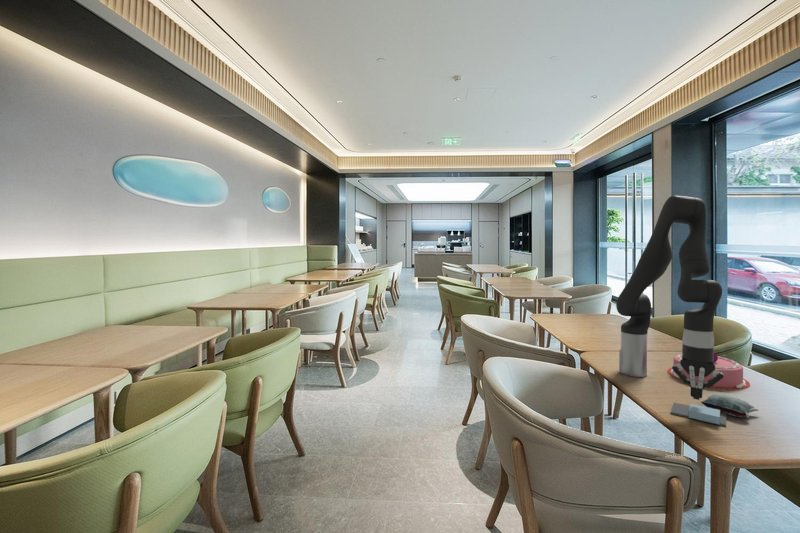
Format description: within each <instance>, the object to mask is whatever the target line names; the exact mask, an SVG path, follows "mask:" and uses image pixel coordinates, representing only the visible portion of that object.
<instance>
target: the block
mask: <svg viewBox="0 0 800 533" xmlns="http://www.w3.org/2000/svg"><path fill="white" fill-rule="evenodd" d="M689 406H690V408H689V417H690V418H689V419H691V418H694V419H693V420H695V419H698V420H697V421H700V420H702V421H701V422H704V421H707V422H706V423H708V422H711V423H710V424H712V423H715V424H714V425H717V424H719V425H718V426H721V425H720V413H721V412H720V410H717V409H713V408H708V407H706V406H704V405H699V404H694V403H690V404H689Z"/></svg>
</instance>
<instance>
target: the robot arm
mask: <svg viewBox="0 0 800 533" xmlns="http://www.w3.org/2000/svg"><path fill="white" fill-rule="evenodd" d="M706 208H707V205H706V203H705V201H704V200H703V199H702V198H699V197H692V196H686V195H671V196H669V197H668V198H667V199H666V201H665V202H664V204H663V206H662V208H661V210H660V213H659V216H658V219H657V221H656V224H655V226H654V229H653V232H652V233H651V236H650V238H649V239H648V242H647V244H646V246H645V248H644V250H643V252H642V254H641V256H640V258H639V260H638V262H637V264H636V266H635V268H634V270H633V271H632V272H633V273H632V274H631V276H630V278H629V280H628V281H627V283H626V285H625V286H624V287H623V289H622V290H621V292H620V293H619V295H618V297H617V299H616V305H615V306H616V311H617V312H618V314H620V315H621V316H624V317H629V319H628V320H627V321H625V322H623V323H622V324H621V325H620V349H619V350H618V352H619V356H618V357H619V359H618V360H619V363H618V373H620V374H623V375H626V376H629V377H635V378H641V377H642V378H643V377H646V376H648V375H647V374H648V334H649V333H648V331H649V328H650V325H651V316H652V303H651V302H652V301H651V300H650V297H649V296H648V295H647V294H645V293H643V292H644V291H645V290H647V289H648V288H649V286H651V285H652V284H653V283H655V282H656V281H657V280H658V279H660V278H661V277H662V276H663V275H664V274H665V272H666V271H667V269H668V267H669V265H670V264H671V261H672V260H673V250H672V246H671V243H670V238H669V237H670V236H669V233H670V230H671V228H672V225H673V224H674V223H676V224H683V225H688V229H689V233H688V235H687V237H686V239H684V241H683V242H682V244H681V246H680V248H679V252H678V258H679V265H680V279H679V283H678V287H677V292H676V293H677V296H678V298H679V299H680V300H681V301H682V302H684V303H685V302H686V303H696V304H697V303H698V304H699V303H700V304H701V303H703V304H702V306H701V307H700V308H694V309H688V310H685V311H684V314H683V332H682V338H681V339H682V343H681V344H682V348H681V349H682V350H681V351H682V352H681V354H682V359H681V361H680V363H679V364H677V365H673V364H672V366H671V368H672V369H673V370H674V371H675V373H676V374H677V375H678V376H679V377H680V379H681V380H682V382H683V384H686V385H688V386H690V397H692V399H694V400H696V401H697V400H698V401H700V399H702V398H703V390H704V389H705V388H706V389H710V387H711V386H713V385H714V384H715V383H717V382H718V381H719V380H721V379H722V378H723V377H724V374H723V373H722V372H719V371H718V370H717V369H715V365H714V363H713V358H714V353H715V352H714V351H715V350H714V348H715V336H714V320H715V319H714V318H715V314H716V311H717V308H718V305H719V304H720V303H719V302H720V300H721V298H722V295H723V288H722V285H721V284H720V282H718V281H717V280H714V279H713V280H712V279H695V278H700V277H704V276H706V275H708V274H709V273H710V264H709V258H708V253H707V250H706V249H707V247H706V232H707V227H706V226H707V209H706ZM682 367H683V368H684V370H685V371H686V372H687V373H688V374H689V375H690V380H689V379H688V378H687V377H686V376H685V374H684V373H683V372H682ZM712 372H714V373H713V376H714V377H712V378H711V379H710V380H708V381H707V382H703V381H704V377H707V376H708V375H709V374H711V373H712ZM696 376H698V377H699V379H698V385H696ZM681 380H680V381H681Z"/></svg>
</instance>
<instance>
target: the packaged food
mask: <svg viewBox="0 0 800 533" xmlns="http://www.w3.org/2000/svg"><path fill="white" fill-rule="evenodd" d="M700 403H701V404H703V406H704V407H708V408H713V409H717V410H720V413H725V414H726V415H729V416H733V417H737V418H749V419H750V415H749V414H750V413H753V412H758V411H760V410H759V409H758V408H757V407H755V406H753V405H751V404H749V402H746V401H745V400H742V399H740V398H737V397H732V396H730V395H725V394H719V393H718V394H717V393H712V394H710V395H709V396H708V397H707V399H704V400H701V401H700Z"/></svg>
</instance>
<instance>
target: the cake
mask: <svg viewBox="0 0 800 533" xmlns="http://www.w3.org/2000/svg"><path fill="white" fill-rule="evenodd" d="M681 359H682V353H680V354H675V355H674V357H673V363H672V366H673V365H677V364H679V363H680V361H681ZM713 363H714V365H715V369H717V370H718V371H719V372H722V373H723V374H724V377H723V378H722V379H721V380H719V381H718V382H717V383H715V384H714V385H713V386H711V387H710V388H712V389H717V390H718V389H719V390H727V391H729V390H732V391H733V390H734V391H738V390H739V391H741V390H745V389H749V388H750V386H751V384H750V381H748V380H746V379H745V378H744V366H743V365H742V364H740V363H738V362H737V361H734V360H733V359H731V358H728V357H727V358H726V357H725V356H718V354H717V353H716V352H714V358H713ZM666 372H667V373H668V375H669V376H671V377H672V378H674V379H677V380H679V381H682V380H681V379H680V377H679V376H678V375H677V374H676V373H675V371H674V370H673V369H672V367H669V368H668V369H667V371H666ZM682 372H683V373H684V374H685V376H686V377H687V378H688V379H689V380H690V375H689V374H688V373H687V372H686V371H685V370H684V368H683V367H682ZM713 373H714V372H712V373H711V374H709V375H708V376H707V377H704V381H703V382H707V381H708V380H710V379H711V378H712V377H714V376H713ZM698 379H699V377H698V376H696V386H697V385H698ZM682 382H683V381H682ZM710 388H709V389H710Z"/></svg>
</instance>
